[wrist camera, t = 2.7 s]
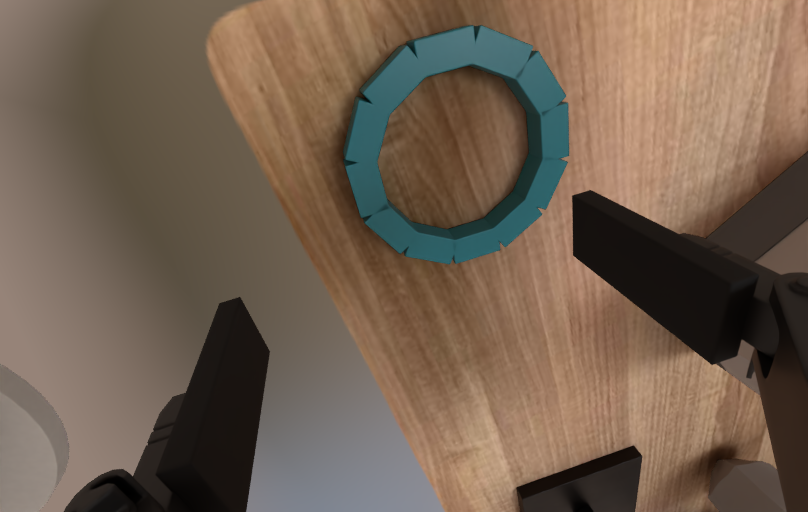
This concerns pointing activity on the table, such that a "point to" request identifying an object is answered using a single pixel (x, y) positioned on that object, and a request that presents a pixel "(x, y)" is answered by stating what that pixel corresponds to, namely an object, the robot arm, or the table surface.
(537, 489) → the post
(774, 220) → the alarm clock
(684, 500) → the table surface
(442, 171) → the table surface
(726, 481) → the bottle
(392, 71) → the ring
